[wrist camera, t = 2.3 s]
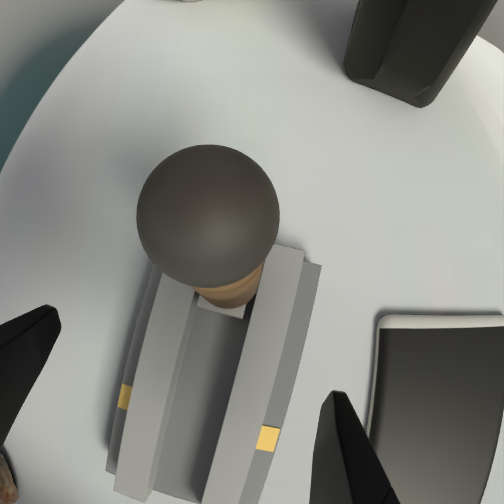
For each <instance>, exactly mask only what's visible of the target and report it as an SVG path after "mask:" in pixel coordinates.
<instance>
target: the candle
mask: <svg viewBox="0 0 504 504" xmlns="http://www.w3.org/2000/svg"><path fill="white" fill-rule="evenodd" d="M17 492H18V491H17V488H16V486H15V484H14V482H13V479H12V475H11V472H10V470H9V467H8V465H7V462H6V460H5V458H4V456H3V455H2V454H1V453H0V504H13V503H15V502H16V500H17V499H18V494H17Z"/></svg>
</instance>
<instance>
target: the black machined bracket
mask: <svg viewBox="0 0 504 504" xmlns="http://www.w3.org/2000/svg"><path fill="white" fill-rule="evenodd" d="M496 2H497V0H359V1H358V5H357V8H356V12H355V17H354V21H353V25H352V29H351V34H350V38H349V42H348V46H347V50H346V54H345V58H344V63H343V64H344V68H345V70H346V72H347V73H348V75H349V76H350V77H351V79H352V80H353V81H354V82H357V83H360V84H362V85H365V86H368V87H371V88H373V89H376V90H378V91H381V92H384V93H386V94H388V95H391V96H393V97H396V98H398V99H400V100H403V101H405V102H407V103H410V104H412V105H414V106H416V107H419V108H422V107H425V106H427V105H429V104H431V103H432V102H433V101H434V99H435V98H436V96H437V95H438V93H439V92H440V91H441V89H442V88H443V86H444V85H445V83H446V82H447V80H448V79H449V77H450V76H451V74H452V73H453V71H454V70H455V68H456V67H457V65H458V64H459V62H460V60H461V59H462V57H463V56H464V54H465V53H466V51H467V50H468V48H469V47H470V45H471V43H472V42H473V40H474V39H475V37H476V35H477V34H478V32H479V31H480V29H481V27H482V26H483V24H484V22H485V21H486V19H487V17H488V16H489V14H490V12H491V11H492V9H493V7H494V5H495V4H496Z"/></svg>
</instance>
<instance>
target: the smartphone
mask: <svg viewBox="0 0 504 504" xmlns="http://www.w3.org/2000/svg"><path fill="white" fill-rule="evenodd" d="M503 411H504V315H473V316H439V315H387V316H384V317H383V318H381V319H380V320H379V322H378V324H377V331H376V347H375V361H374V372H373V383H372V392H371V401H370V409H369V416H368V424H367V430H366V434H367V436H368V438H369V440H370V442H371V444H372V446H373V448H374V450H375V452H376V454H377V456H378V458H379V460H380V462H381V464H382V466H383V469H384V471H385V473H386V475H387V477H388V479H389V481H390V483H391V487H393V489H394V491H395V493H396V495H397V497H398V499H399V501H400V503H401V504H480V503H481V500H482V497H483V494H484V491H485V488H486V485H487V481H488V478H489V474H490V471H491V467H492V463H493V460H494V456H495V451H496V447H497V443H498V438H499V433H500V428H501V423H502V417H503Z"/></svg>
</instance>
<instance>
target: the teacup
mask: <svg viewBox="0 0 504 504" xmlns="http://www.w3.org/2000/svg"><path fill="white" fill-rule="evenodd" d="M181 1H184V2H196V1H201V0H181Z"/></svg>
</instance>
